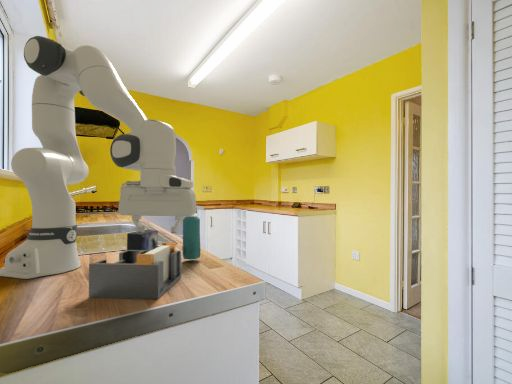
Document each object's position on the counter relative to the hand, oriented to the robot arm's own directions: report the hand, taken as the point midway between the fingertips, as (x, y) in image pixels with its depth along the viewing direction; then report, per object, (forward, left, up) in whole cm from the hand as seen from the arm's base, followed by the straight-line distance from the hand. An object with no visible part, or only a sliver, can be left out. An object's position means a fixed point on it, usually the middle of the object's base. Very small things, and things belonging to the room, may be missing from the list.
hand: (157, 232), depth 65 cm
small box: (-19, +28, -15) cm, 37 cm away
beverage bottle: (+1, +25, -15) cm, 29 cm away
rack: (-5, 0, -15) cm, 15 cm away
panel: (0, 0, -14) cm, 14 cm away
